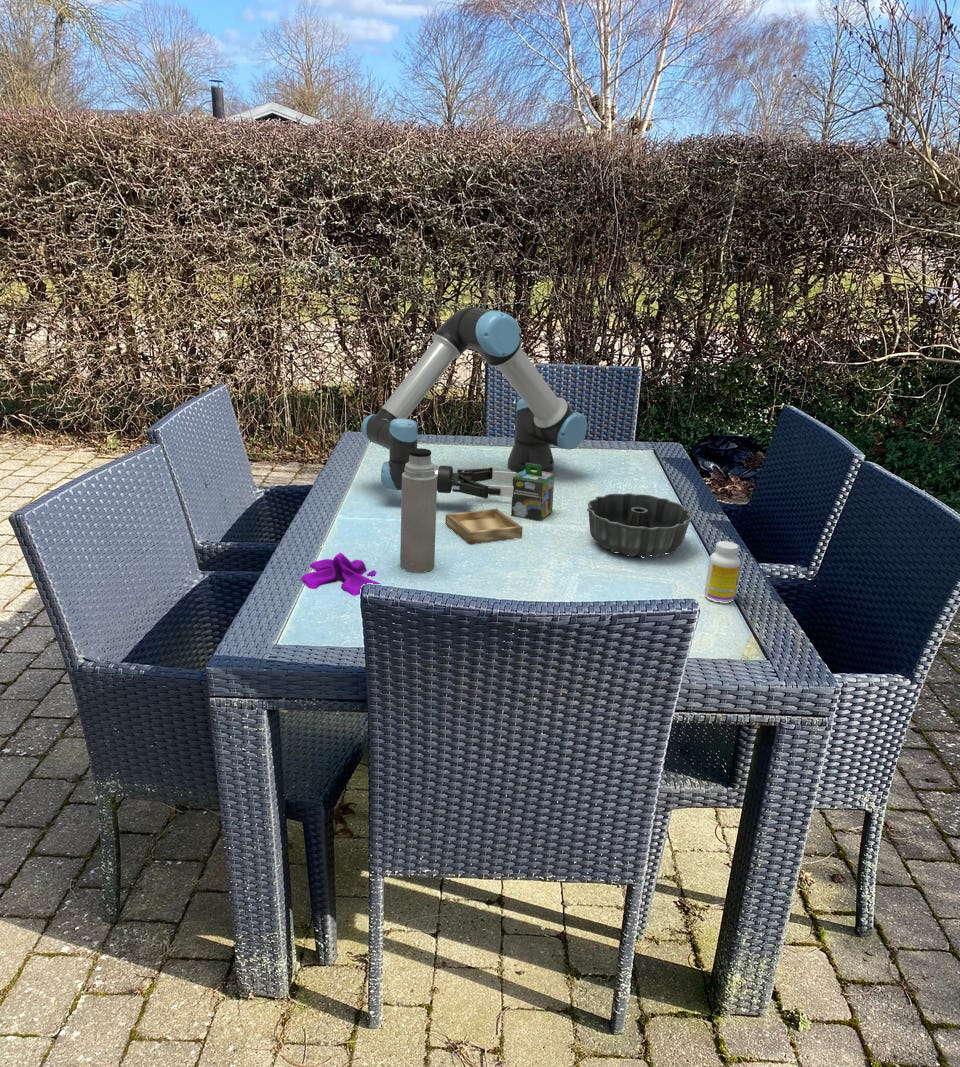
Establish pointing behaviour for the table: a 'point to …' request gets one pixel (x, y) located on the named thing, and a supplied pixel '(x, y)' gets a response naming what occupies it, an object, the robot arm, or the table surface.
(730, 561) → the supplement bottle
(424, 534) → the thermos bottle
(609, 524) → the bundt pan
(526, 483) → the chalk box
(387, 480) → the robot arm
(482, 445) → the table surface
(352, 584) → the cloth
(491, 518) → the bamboo tray
